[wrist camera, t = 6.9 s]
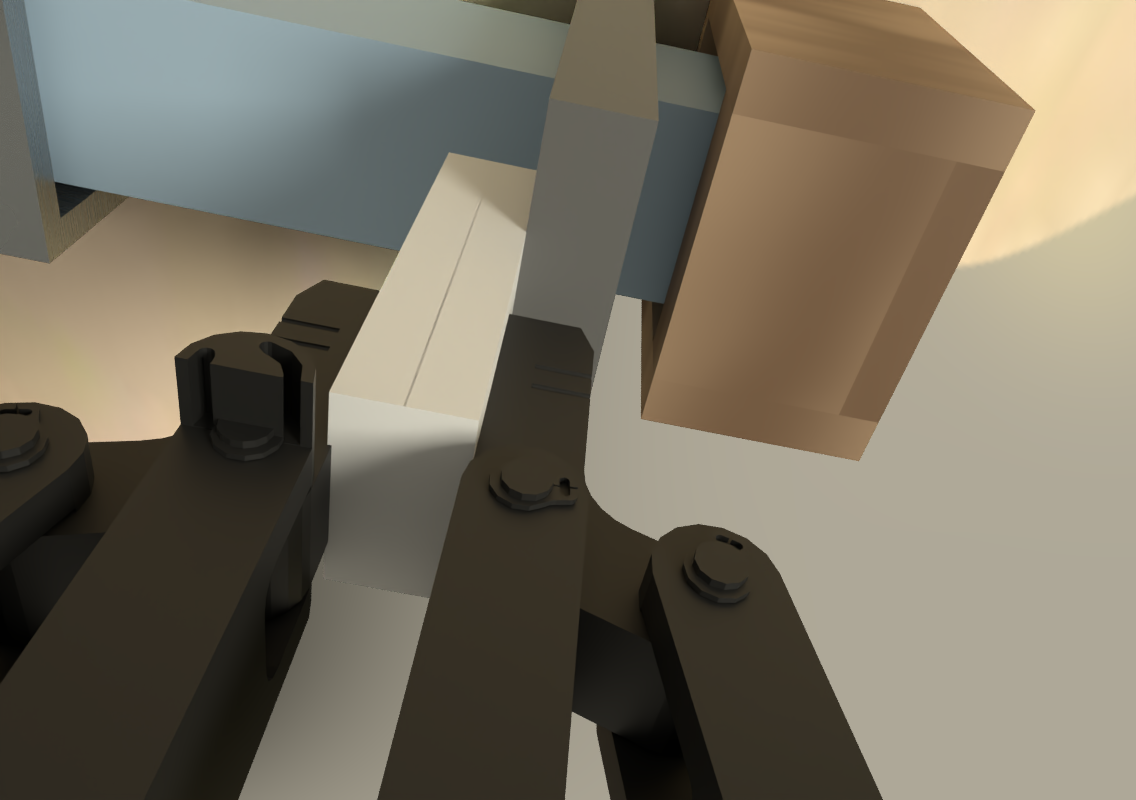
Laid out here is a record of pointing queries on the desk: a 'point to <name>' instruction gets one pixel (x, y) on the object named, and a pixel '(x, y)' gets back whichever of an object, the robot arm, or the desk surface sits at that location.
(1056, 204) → the desk surface
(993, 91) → the socket block
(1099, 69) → the desk surface
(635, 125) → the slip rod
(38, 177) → the sleeve
